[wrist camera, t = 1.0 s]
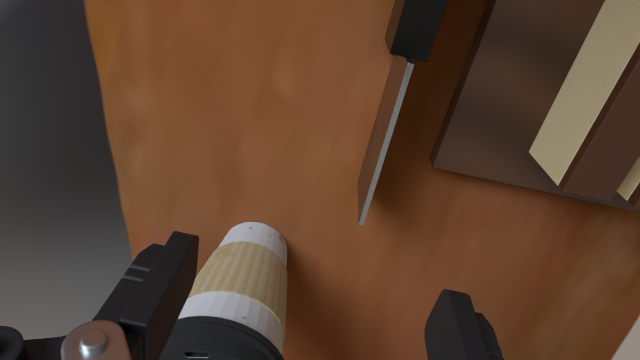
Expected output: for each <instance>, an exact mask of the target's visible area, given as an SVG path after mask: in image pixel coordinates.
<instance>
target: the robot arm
mask: <svg viewBox="0 0 640 360" xmlns="http://www.w3.org/2000/svg"><path fill="white" fill-rule="evenodd" d="M198 246H199V237H198V236H196V235H191V234H187V233H182V232H177V231H174V232H173V233H172V235H171V236H170V238H169V240H168V241H167V243H166V244H165V246H163V245H158V244H152V245H150V246H149V247H147V248H146V249H144V250H143V251H141V252H140V253H139V254H138V255H137V257H136V258H135V260H134V261H133V263H132V264H131V266H130V268H129V269H128V270H127V272H126V273H125V275H124V276H123V279H121V280H120V281H119V283H118V284H117V286H116V287H115V289H114V290H113V292H112V293H111V294H110V296H109V298H108V299H107V300H106V302H105V303H104V305H103V306H102V307H101V309H100V310H99V312H98V313H97V315H96V316H95V317H94V319H93V320H92V321H90V322H87V323H84V324H82V325H80V326H78V327H76V328H75V329H73V330H72V331H71V332H70V333H69V334H68V335H66V336H62V337H56V338H45V339H33V340H23V337H22V335H21V334H20V332H19V331H17V330H16V329H14V328H11V327H6V326H0V360H159V358H160V356H161V354H162V352H163V349H164V347H165V345H166V343H167V341H168V339H169V337H170V335H171V332H172V330H173V328H174V326H175V324H176V322H177V320H178V318H179V315H180V313H181V311H182V309H183V307H184V305H185V303H186V301H187V298H188V296H189V294H190V292H191V290H192V287H193V284H194V281H195V277H196V271H197V259H198ZM425 344H426V349H427V355H428V360H504V358H502V352H501V349H500V347H499V346H498V341H497V338H496V335H495V332H494V330H493V327H492V326H491V325H490V323H489V322H488V321H487V319H486V318H485V317H484V316H483V314H482V313H477V312H475V311H474V308H473V304H472V301H471V298H470V296H469V295H468V294H466V293H461V292H457V291H452V290H447V289H444V290H443V291H442V292H441V294H440V295H439V297H438V299H437V301H436V303H435V305H434V307H433V309H432V311H431V313H430V315H429V317H428V319H427V322H426V326H425Z"/></svg>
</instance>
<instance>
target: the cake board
mask: <svg viewBox="0 0 640 360" xmlns="http://www.w3.org/2000/svg"><path fill="white" fill-rule="evenodd" d="M604 2H605V0H489V2H488V5H487V7H486V10H485V13H484V15H483V18H482V21H481V23H480V26H479V29H478V31H477V34H476V37H475V39H474V42H473V45H472V47H471V50H470V53H469V55H468V58H467V61H466V63H465V66H464V69H463V71H462V74H461V77H460V79H459V82H458V85H457V87H456V90H455V93H454V95H453V98H452V101H451V103H450V106H449V109H448V111H447V114H446V117H445V119H444V122H443V124H442V127H441V130H440V132H439V135H438V138H437V140H436V143H435V146H434V148H433V151H432V154H431V156H430V162H431V165H432V167H433V168H437V169H442V170H446V171H451V172H456V173H460V174H465V175H470V176H474V177H479V178H483V179H488V180H493V181H497V182H502V183H506V184H511V185H516V186H520V187H525V188H530V189H534V190H539V191H543V192H548V193H553V194H557V195H562V196H566V197H571V198H576V199H580V200H585V201H590V202H594V203H599V204H603V205H608V206H613V207H617V208H622V209H626V210H631V211H636V212H640V208H636V207H633V206H632V205H631V204H630V203H629V202H628V201H627V200H626V199H625V198H623V197H622V196H621V195H620V194H619V193H618V192H617V191H616V192H615V194H614V196H613V197H612V199H611V200H610V201H605V200H600V199H595V198H591V197H586V196H582V195H577V194H572V193H568V192H563V191H562V190H561V189H560V188H559V186H558V185H557V184H556V183H555V182H554V181H553V180H552V179H551V177H550V176H549V175H548V174H547V173H546V172H545V171H544V169H543V168H542V167H541V166H540V165H539V164H538V162H537V161H536V160H535V159H534V158H533V157H532V155H531V154H530V153H529V150H530V148H531V146H532V144H533V142H534V140H535V138H536V136H537V134H538V132H539V130H540V128H541V126H542V124H543V122H544V120H545V118H546V116H547V114H548V113H549V111H550V109H551V107H552V105H553V103H554V101H555V99H556V97H557V95H558V93H559V91H560V89H561V87H562V85H563V83H564V81H565V79H566V77H567V75H568V73H569V71H570V69H571V67H572V65H573V63H574V61H575V59H576V57H577V55H578V53H579V51H580V49H581V47H582V45H583V43H584V41H585V39H586V37H587V35H588V33H589V31H590V29H591V27H592V25H593V23H594V21H595V19H596V17H597V15H598V13H599V11H600V10H601V8H602V6H603V4H604Z"/></svg>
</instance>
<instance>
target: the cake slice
mask: <svg viewBox="0 0 640 360" xmlns="http://www.w3.org/2000/svg"><path fill="white" fill-rule="evenodd" d="M529 153H530V154H531V155H532V157H533V158H534V159H535V160H536V161H537V162H538V164H539V165H540V166H541V167H542V168H543V169H544V171H545V172H546V173H547V174H548V175H549V176H550V177H551V179H552V180H553V181H554V182H555V183H556V184H557V185H558V186H559V188H560V189H561V190H562V191H563V192H568V193H572V194H577V195H582V196H586V197H591V198H595V199H600V200H605V201H610V200H611V199H612V197H613V196H614V194H615V192H616V191H617V189H618V188H619V186H620V185H621V183H622V182H623V180H624V179H625V177H626V176H627V174H628V173H629V171H630V170H631V168H632V167H633V165H634V164H635V162H636V161H637V159H638V157H639V156H640V0H605V2H604V4H603V6H602V8H601V10H600V11H599V13H598V15H597V17H596V19H595V21H594V23H593V25H592V27H591V29H590V31H589V33H588V35H587V37H586V39H585V41H584V43H583V45H582V47H581V49H580V51H579V53H578V55H577V57H576V59H575V61H574V63H573V65H572V67H571V69H570V71H569V73H568V75H567V77H566V79H565V81H564V83H563V85H562V87H561V89H560V91H559V93H558V95H557V97H556V99H555V101H554V103H553V105H552V107H551V109H550V111H549V113H548V114H547V116H546V118H545V120H544V122H543V124H542V126H541V128H540V130H539V132H538V134H537V136H536V138H535V140H534V142H533V144H532V146H531V148H530V150H529Z"/></svg>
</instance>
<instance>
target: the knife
mask: <svg viewBox="0 0 640 360" xmlns="http://www.w3.org/2000/svg"><path fill="white" fill-rule="evenodd" d="M446 3H447V0H395V3H394V6H393V10H392V14H391V17H390V21H389V25H388V28H387V32H386V36H385V40H386V43H387V46H388V49H389V52H390V54H393V55H394V58H393V61H392V65H391V68H390V72H389V75H388V79H387V82H386V86H385V89H384V93H383V96H382V100H381V103H380V107H379V110H378V114H377V117H376V120H375V124H374V127H373V131H372V134H371V138H370V141H369V145H368V148H367V152H366V155H365V159H364V162H363V166H362V169H361V173H360V176H359V180H358V224H359V225H362V226H364V223H365V220H366V216H367V213H368V210H369V207H370V204H371V201H372V197H373V194H374V191H375V188H376V185H377V182H378V178H379V175H380V172H381V169H382V166H383V162H384V159H385V156H386V153H387V150H388V147H389V143H390V140H391V137H392V134H393V131H394V128H395V124H396V121H397V118H398V115H399V112H400V108H401V105H402V102H403V99H404V96H405V93H406V89H407V86H408V83H409V80H410V77H411V74H412V70H413V67H414V63H413V61H412V59H415V60H420V61H424V62H427V61H428V58H429V55H430V52H431V49H432V46H433V43H434V40H435V37H436V34H437V31H438V28H439V25H440V22H441V19H442V16H443V13H444V10H445V7H446Z"/></svg>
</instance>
